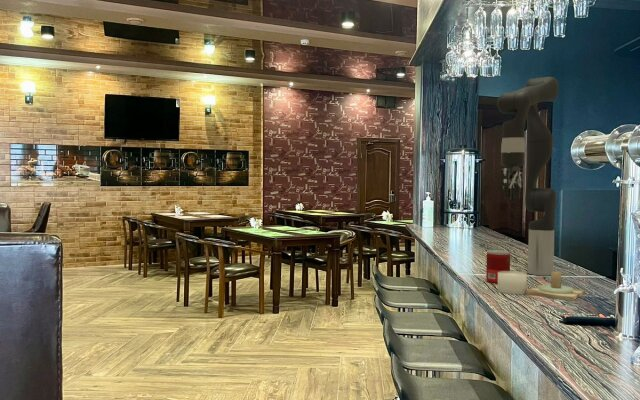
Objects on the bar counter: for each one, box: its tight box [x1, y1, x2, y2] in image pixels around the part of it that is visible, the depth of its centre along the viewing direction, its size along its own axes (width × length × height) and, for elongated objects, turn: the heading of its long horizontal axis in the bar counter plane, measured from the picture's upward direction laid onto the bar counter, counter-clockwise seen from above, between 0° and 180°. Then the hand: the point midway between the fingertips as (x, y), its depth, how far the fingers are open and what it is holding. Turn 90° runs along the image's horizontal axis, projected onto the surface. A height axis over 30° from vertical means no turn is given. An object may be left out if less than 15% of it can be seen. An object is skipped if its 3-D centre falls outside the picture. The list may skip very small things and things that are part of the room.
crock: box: [497, 270, 528, 295], centre depth 180 cm, size 9×9×6 cm
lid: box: [538, 270, 574, 294], centre depth 177 cm, size 10×10×6 cm
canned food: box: [485, 249, 511, 285], centre depth 197 cm, size 8×8×11 cm
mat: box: [525, 284, 586, 301], centre depth 177 cm, size 14×14×1 cm
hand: (512, 199), depth 188 cm, fingers open, 8 cm apart
